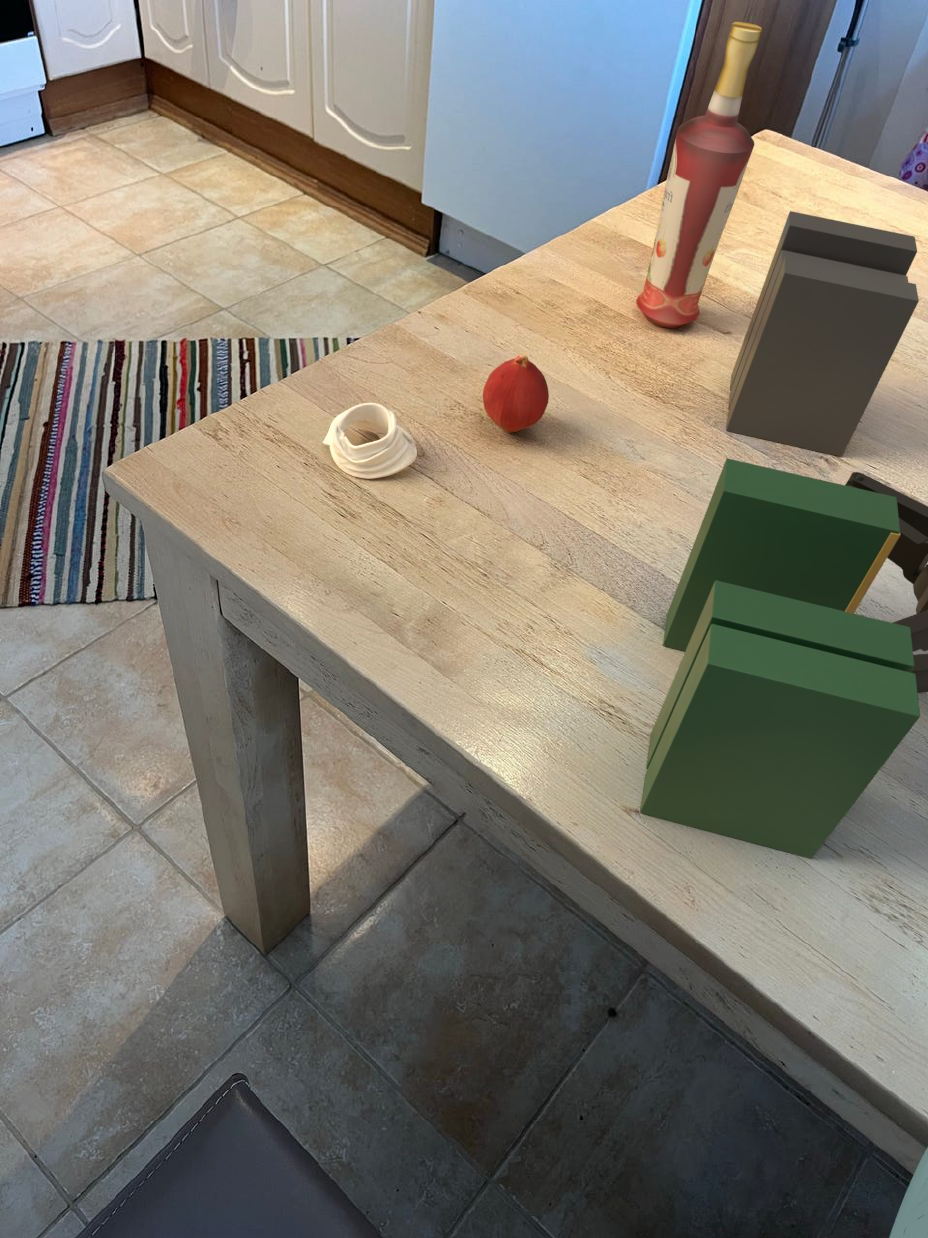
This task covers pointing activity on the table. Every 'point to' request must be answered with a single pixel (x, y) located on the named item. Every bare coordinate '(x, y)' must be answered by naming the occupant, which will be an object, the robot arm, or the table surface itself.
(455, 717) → the table surface
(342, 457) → the white cowl scarf
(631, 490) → the table surface
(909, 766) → the table surface
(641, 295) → the liquor
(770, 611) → the green books
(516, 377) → the onion
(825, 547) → the green book
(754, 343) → the grey books
